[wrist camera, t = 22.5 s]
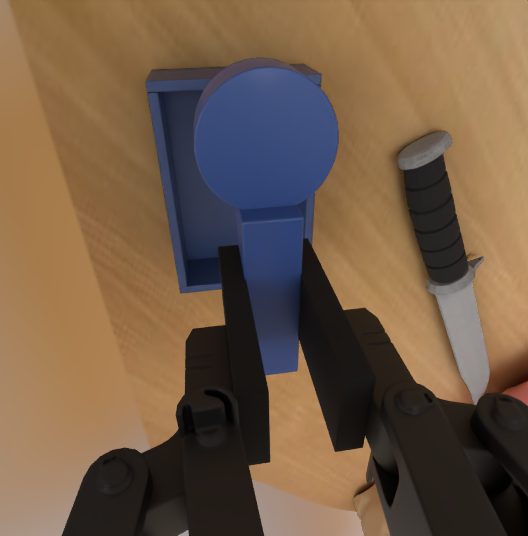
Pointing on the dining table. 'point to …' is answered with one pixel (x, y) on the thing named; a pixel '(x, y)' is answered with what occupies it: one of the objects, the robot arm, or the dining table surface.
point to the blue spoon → (267, 183)
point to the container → (371, 513)
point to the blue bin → (196, 178)
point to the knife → (445, 255)
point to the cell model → (519, 392)
